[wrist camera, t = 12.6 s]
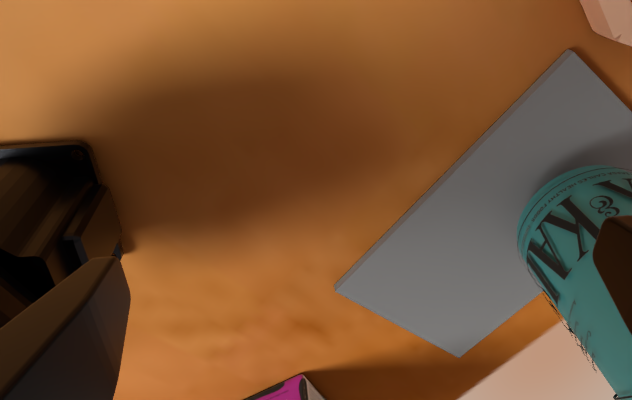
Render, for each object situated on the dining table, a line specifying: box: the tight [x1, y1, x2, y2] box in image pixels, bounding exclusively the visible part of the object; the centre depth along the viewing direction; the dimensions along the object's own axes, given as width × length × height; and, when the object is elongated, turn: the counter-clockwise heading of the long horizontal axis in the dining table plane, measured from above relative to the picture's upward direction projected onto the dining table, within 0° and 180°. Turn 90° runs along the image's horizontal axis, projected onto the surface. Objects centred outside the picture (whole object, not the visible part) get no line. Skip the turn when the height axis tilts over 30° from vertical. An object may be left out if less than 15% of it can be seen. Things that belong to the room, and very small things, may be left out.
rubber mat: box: [334, 49, 632, 358], centre depth 25 cm, size 16×10×1 cm, turn 142°
